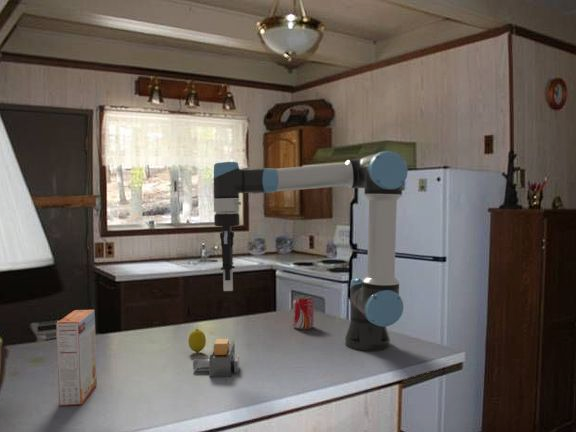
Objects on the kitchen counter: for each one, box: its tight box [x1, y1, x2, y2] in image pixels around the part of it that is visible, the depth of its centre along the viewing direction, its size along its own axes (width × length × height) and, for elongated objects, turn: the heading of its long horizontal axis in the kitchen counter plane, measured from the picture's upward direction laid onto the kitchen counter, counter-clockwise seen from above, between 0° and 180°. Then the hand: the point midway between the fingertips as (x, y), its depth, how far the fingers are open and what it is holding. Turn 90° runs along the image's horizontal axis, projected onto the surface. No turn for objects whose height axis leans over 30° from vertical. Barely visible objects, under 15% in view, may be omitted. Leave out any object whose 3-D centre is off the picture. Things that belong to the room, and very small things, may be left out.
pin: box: [192, 354, 240, 374], centre depth 155 cm, size 13×6×3 cm, turn 91°
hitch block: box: [208, 340, 236, 378], centre depth 157 cm, size 6×14×6 cm, turn 1°
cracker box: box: [55, 309, 98, 407], centre depth 136 cm, size 14×6×21 cm, turn 5°
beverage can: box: [292, 294, 315, 331], centre depth 205 cm, size 8×8×12 cm
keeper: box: [213, 338, 230, 355], centre depth 154 cm, size 4×6×3 cm, turn 1°
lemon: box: [188, 328, 207, 354], centre depth 172 cm, size 6×6×8 cm
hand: (228, 290), depth 161 cm, fingers closed
